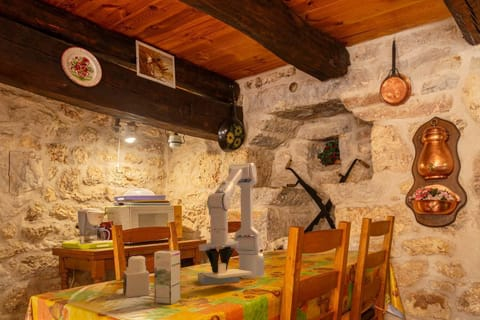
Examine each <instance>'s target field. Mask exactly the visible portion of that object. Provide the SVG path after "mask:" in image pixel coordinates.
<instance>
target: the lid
mask: <svg viewBox="0 0 480 320" xmlns="http://www.w3.org/2000/svg"><path fill="white" fill-rule="evenodd" d="M201 273H202V275H206V276H210V277H215V278H225V277H234V276H243V275H251V274H252V272H250V271H244V270H239V268H229V269H228V268H227V271H226V263H221V262H218V273H214V272H212V270H208V271H201Z"/></svg>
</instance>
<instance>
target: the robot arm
mask: <svg viewBox="0 0 480 320" xmlns="http://www.w3.org/2000/svg"><path fill="white" fill-rule="evenodd" d="M257 173H258V170H257V167H256V164H255V163H254V162H249V163H247V162H245V163H231V164H229V166H228V175H227V178H226V180H222V181H221V183H220V184H219V186H217V188H216V190H215V191H214V193H210V194H209V195H208V197H207V200H206V207H207V209H208V216H209V217H210V218H209V219H210V228H209V229H210V242H209V243H208V242H207V243H202V244H198V251H201V252H204V253H205V254H206V257H207V258H208V261H209V263H210V266H211V271H212V272H214V273H218V263H219V259H220V263H226V271H227V269H228V267H229V263H230V260H231V257H232V255H233V253H234V250H235V252H237V254H238V269H239V270H244V271H250V272H252V274H251V275H243V276H239V278H242V279H247V278H258V277H265V276H266V275H265V258H264V254H263V253H262V252H260V251H261V250H262V244H263V243H262V242H263V241H262V237H261V233H260V231H259V230H257V229H256V228H255V227H254V186H256V184H257V181H258V178H257V177H258V176H257V175H258V174H257ZM236 186H238V187H239V188H240V228H239V229H238V230H237V231H236V232H235V234H234V239H233V241H229V235H228V234H229V226H228V225H229V224H228V223H229V222H228V220H229V219H228V210H229V209H230V208H231V202H232V197H233V195H234V194H235V192H236ZM233 248H234V249H233Z"/></svg>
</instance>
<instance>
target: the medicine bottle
mask: <svg viewBox="0 0 480 320" xmlns="http://www.w3.org/2000/svg"><path fill="white" fill-rule="evenodd" d="M125 268H126V270H124V271H123V279H122V280H123V281H122V282H123V284H122V285H123V286H122V293H123V295H124V297H125V298H126V299H128V298H137V297H138V298H139V297H146V296H149V295H150V272H149V271H148V270H147V256H145V255H139V254H136V255H130V256H127V258H126V267H125Z"/></svg>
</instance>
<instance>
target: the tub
mask: <svg viewBox="0 0 480 320" xmlns="http://www.w3.org/2000/svg"><path fill="white" fill-rule="evenodd" d="M197 282H199V283H200V284H201V285H202V286H204V287H205V286H211V285H212V286H215V285H226V284H234V283H235V284H236V283H237V284H238V283H240V277H239V276H234V277H225V278H215V277H210V276H209V277H206V275H202V272H198V273H197Z"/></svg>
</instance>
